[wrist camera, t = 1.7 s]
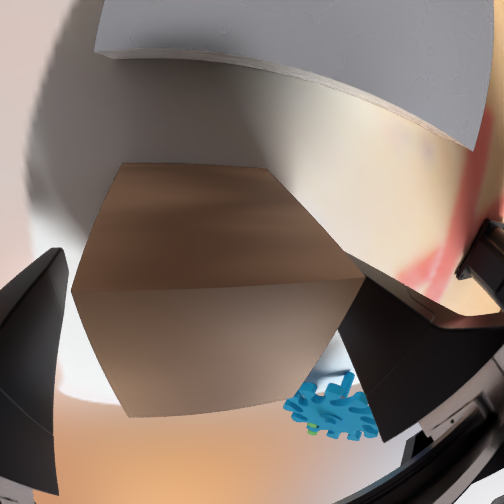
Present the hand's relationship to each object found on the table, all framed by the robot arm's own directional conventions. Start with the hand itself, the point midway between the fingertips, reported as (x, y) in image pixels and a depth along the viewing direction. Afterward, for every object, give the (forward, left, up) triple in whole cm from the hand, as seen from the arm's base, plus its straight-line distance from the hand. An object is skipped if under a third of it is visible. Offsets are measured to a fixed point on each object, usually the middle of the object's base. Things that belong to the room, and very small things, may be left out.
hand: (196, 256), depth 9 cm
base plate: (-4, -13, -2) cm, 14 cm away
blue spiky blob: (-12, +17, -2) cm, 21 cm away
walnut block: (0, 0, -2) cm, 2 cm away
